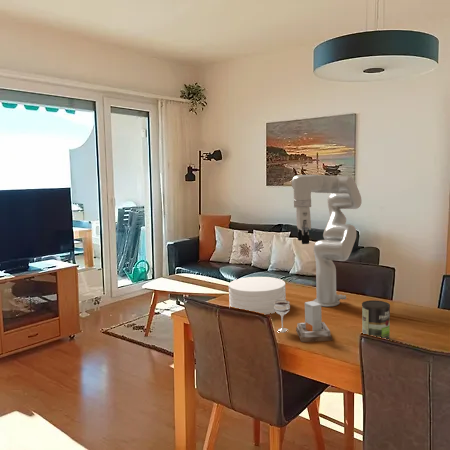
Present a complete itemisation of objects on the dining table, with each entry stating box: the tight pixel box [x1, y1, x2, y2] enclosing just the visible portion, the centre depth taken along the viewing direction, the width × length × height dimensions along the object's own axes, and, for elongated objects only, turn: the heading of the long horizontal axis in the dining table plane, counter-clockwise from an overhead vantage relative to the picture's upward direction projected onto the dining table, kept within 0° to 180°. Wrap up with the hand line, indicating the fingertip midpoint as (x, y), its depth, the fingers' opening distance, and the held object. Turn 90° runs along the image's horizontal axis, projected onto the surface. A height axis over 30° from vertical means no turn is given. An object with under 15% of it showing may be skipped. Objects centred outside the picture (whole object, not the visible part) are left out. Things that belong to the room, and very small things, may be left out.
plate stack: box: [228, 276, 287, 315], centre depth 222 cm, size 28×28×12 cm
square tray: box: [295, 321, 333, 343], centre depth 180 cm, size 12×12×4 cm
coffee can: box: [361, 299, 391, 340], centre depth 173 cm, size 10×10×14 cm
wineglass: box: [274, 299, 291, 333], centre depth 187 cm, size 7×7×12 cm
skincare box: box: [304, 300, 323, 332], centre depth 179 cm, size 6×4×12 cm
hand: (303, 242), depth 199 cm, fingers open, 9 cm apart
